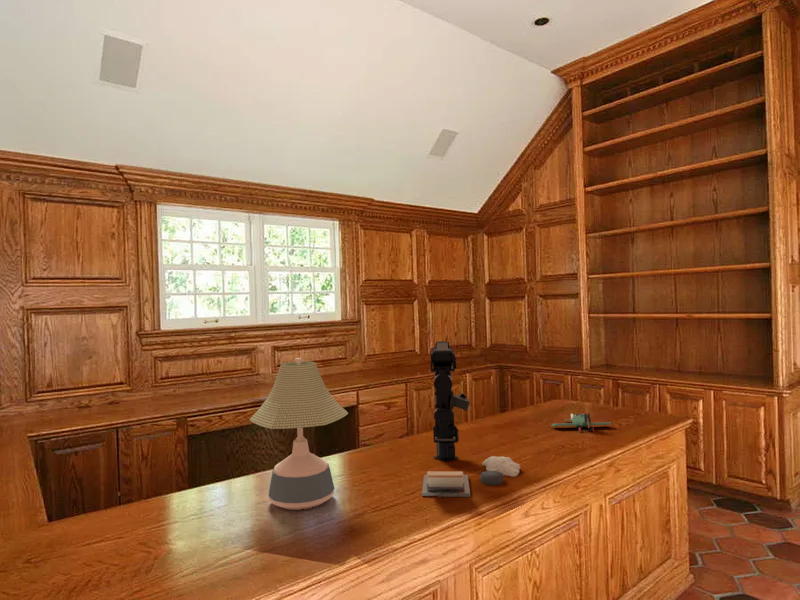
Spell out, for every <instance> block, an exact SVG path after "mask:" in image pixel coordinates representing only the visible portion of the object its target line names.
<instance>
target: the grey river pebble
mask: <svg viewBox="0 0 800 600" xmlns="http://www.w3.org/2000/svg"><path fill="white" fill-rule="evenodd" d="M480 482H481V484H484V485H486V486H492V485H495V486H500V485H502V484H503V483H504V475H503V474H502V473H501V472H497V471H487V470H486V471H483V472H481V473H480Z"/></svg>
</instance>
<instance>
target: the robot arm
mask: <svg viewBox="0 0 800 600" xmlns="http://www.w3.org/2000/svg"><path fill="white" fill-rule="evenodd" d="M454 351H455V349H454V348H453V347H452V346H450V342H449V341H447V340H446V341H445V340H444V341H443V340H442V341H440V340H438V341H435V346H434V347H433V348H431V352H430V372H431V373H434V374H433V375H434V376H433V377H434V379H433V387H434V409H435V410H434V411H433V420H435V421H434V425H433V426H432V429H433V431H432V432H433V443H434V444H436V455H434V456H433V458H434V459H435V458H436V459H435V460H439V461H441V462H442V461H443V462H444V463H446V462H450V461H453V460H457V459H458V458H459V456H457V455H456V445H455V443H458V442H459V441H460V437H459V435H460V434H459V432H460V431H459V428H458V427H457V425H455V413H454V412H455V411H454V409H455V408H454V407H456V408H458V409H461V410H462V411H465V412H467V411H468V410H469V407H470V403H471V400H470V399H469V398H467V395H466V394H465V393H462V392H460V394H459V395H458V394H457V395H456V394H455V393H454V390H453V377H452V376H453V373H452V372H456V370H455V369H457V356H456V355H455V352H454Z"/></svg>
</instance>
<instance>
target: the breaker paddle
mask: <svg viewBox="0 0 800 600" xmlns="http://www.w3.org/2000/svg"><path fill="white" fill-rule="evenodd" d="M426 475H427V477H428V483H427V489H464V483H463V475H464V471H445V470H444V471H429V470H428V471H426Z"/></svg>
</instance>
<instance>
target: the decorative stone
mask: <svg viewBox="0 0 800 600" xmlns="http://www.w3.org/2000/svg"><path fill="white" fill-rule="evenodd" d="M481 465H482V466H485V470H486V471H497V472H501V473H502V474H503V476H504V475H505V476H509V477H514V478H515V477H518V476H519V474H520V470H521V464H519V463H517V462H514V461H513V459H512V458H511V457H509V456H508V457H506V456H495V455H492V456H490V457H488V458H486V459H485V460H484V461H483V462H482V463H481Z"/></svg>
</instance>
